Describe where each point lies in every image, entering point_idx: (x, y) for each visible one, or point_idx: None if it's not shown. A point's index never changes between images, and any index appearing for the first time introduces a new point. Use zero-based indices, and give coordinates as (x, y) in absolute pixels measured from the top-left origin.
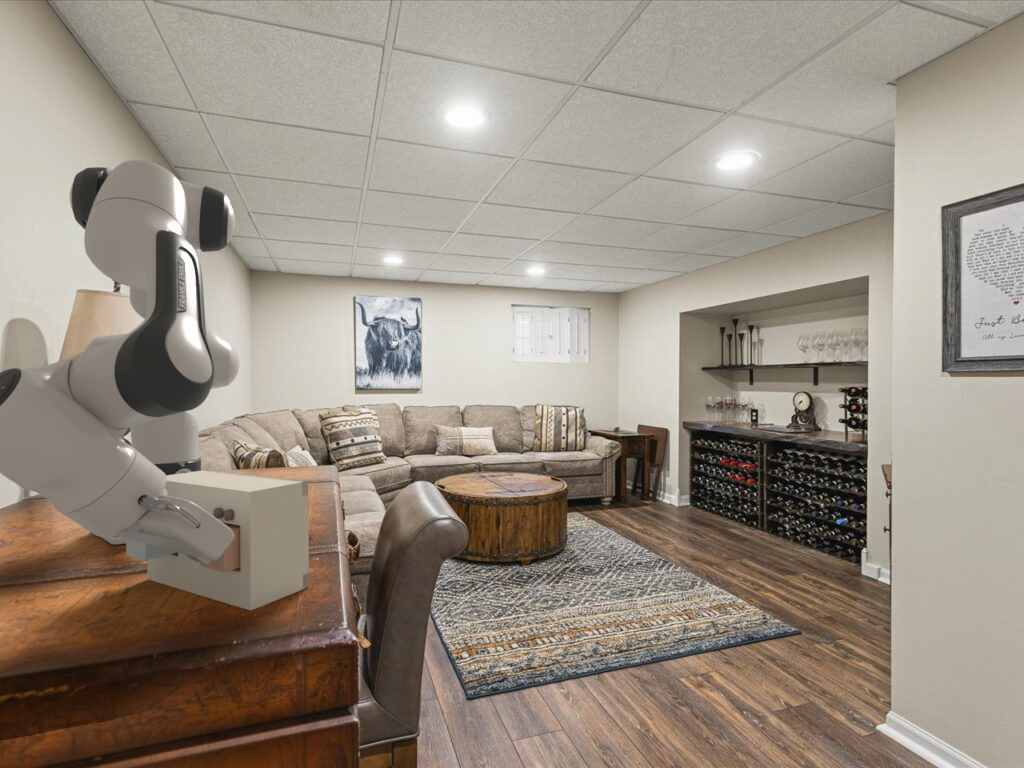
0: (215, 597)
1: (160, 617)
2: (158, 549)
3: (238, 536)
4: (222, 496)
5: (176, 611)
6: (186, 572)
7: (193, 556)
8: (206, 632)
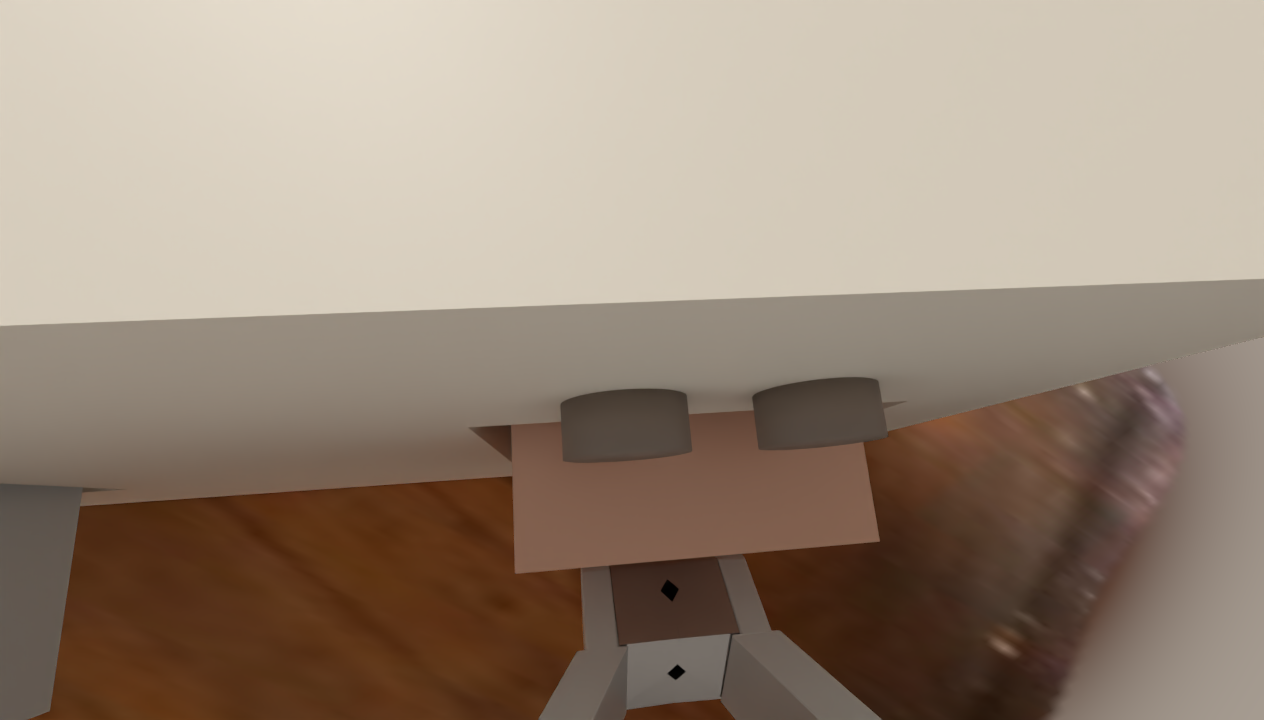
0: None
1: (527, 714)
2: (9, 625)
3: None
4: (695, 346)
5: (522, 637)
6: (271, 486)
7: (694, 698)
8: (842, 669)
